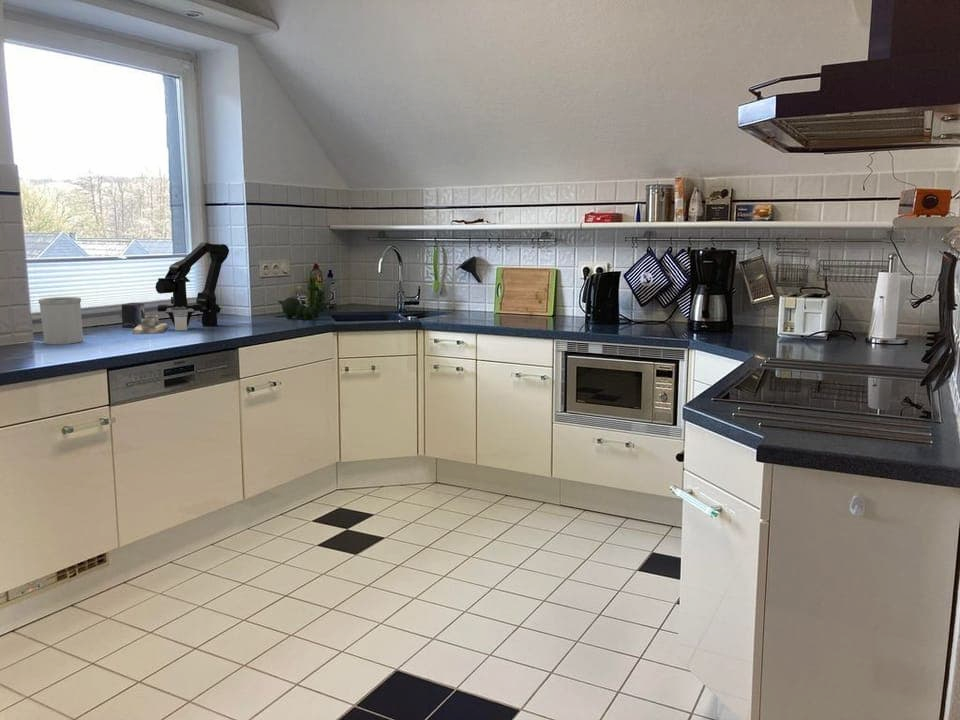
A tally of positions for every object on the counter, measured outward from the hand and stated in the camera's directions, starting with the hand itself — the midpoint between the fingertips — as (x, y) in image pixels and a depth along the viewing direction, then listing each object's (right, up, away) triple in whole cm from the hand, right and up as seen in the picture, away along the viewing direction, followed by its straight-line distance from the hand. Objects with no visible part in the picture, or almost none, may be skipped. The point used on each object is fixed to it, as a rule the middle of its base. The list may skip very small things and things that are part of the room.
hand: (181, 326), depth 348 cm
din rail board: (-12, -2, -4) cm, 13 cm away
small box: (-26, 0, +10) cm, 28 cm away
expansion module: (0, -1, 0) cm, 1 cm away
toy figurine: (+44, +5, +43) cm, 62 cm away
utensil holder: (-31, -8, -41) cm, 52 cm away
